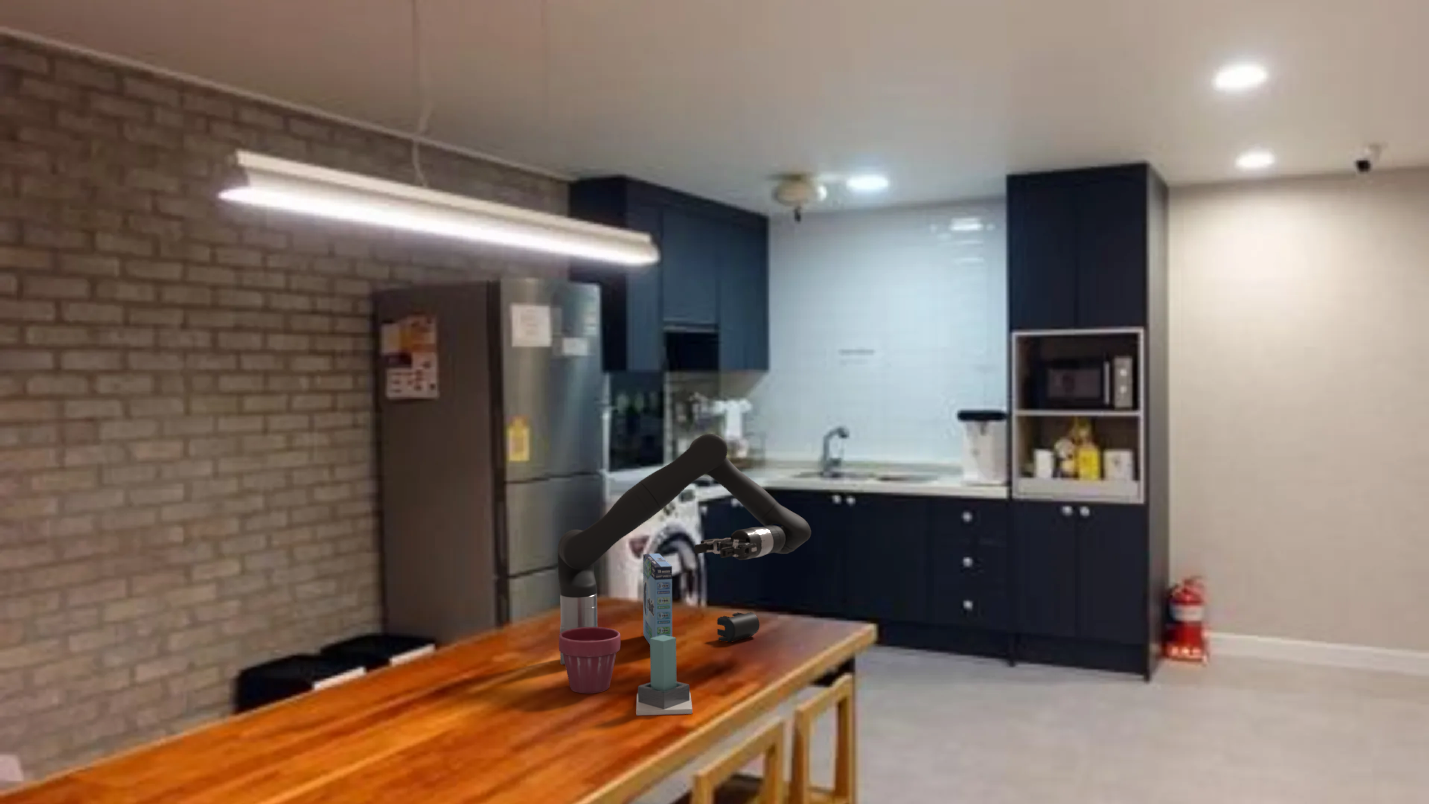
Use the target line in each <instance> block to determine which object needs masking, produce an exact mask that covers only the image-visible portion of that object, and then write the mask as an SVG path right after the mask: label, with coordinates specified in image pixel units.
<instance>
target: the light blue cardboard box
mask: <svg viewBox="0 0 1429 804" xmlns="http://www.w3.org/2000/svg"><path fill="white" fill-rule="evenodd" d="M642 557H643V559H642V560H643V561H642V564H643V565H642V566H643V567H642V568H643V569H642V577H643V578H642V581H643V582H642V588H643V589H642V590H643V591H642V592H643V595H642V596H643V597H642V600H643V601H642V602H643V606H642V607H643V611H642V612H643V613H642V614H643V615H642V616H643V618H642V620H643V623H642V625H643V627H642V628H643V629H642V631H643V636H644V638H645V639H646V641H647V643H648V644H649V645H650V638H654V637H657V636H661V635H666V636H670V637H673V566H672V564H670V563H669V562H668V561H667V560H666V558H664V557H663V556H662V555H661V553H644V554H642Z"/></svg>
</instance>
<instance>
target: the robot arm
mask: <svg viewBox="0 0 1429 804" xmlns="http://www.w3.org/2000/svg"><path fill="white" fill-rule="evenodd" d="M728 449H729V448H728V445H727V442H726V440H725V439H724V438H723V437H722V436H721V435H719V434H715V433H705V434H703V435H700V436H698V437H696V438H695V439H693V441H692V442H691V444H690V446H689V447H688V448H687V449H686V450H685V451H684V452H683V453H681V455H680V456H678V457H676V459H674V460H673V461H671V462H670V463H669V464H666V465H664V466H663V467H660V468H659V469H657V470H655V471H654V472H651V474H649V475H647V476H645V477H644V478H643V479H641V480H640V481H638V482H637V483H635V485H633V486H632V487H630V488H629V489H628V490H626V491H625V492H624V493H623V494H622V495H621V496H620V497H619V498H618V499H617V500H616V502H615V503H614V504H613V505H612V506H611V508H610V509H609V510H608V511H607V512H606V513H605V514H604V515H603V516H602V517H601V518H600V519H599V520H597V521H596V522H594V523H593V524H591V525H590V526H589V527H586V528H585V529H583V530H581V529H570V530H569V531H567V532H565V533H563V535H562V536H561V537H560V538H559V541H558V544H557V571H558V572H557V576H558V579H557V580H558V584H559V593H560V598H559V601H560V627H559V634H560V633H561V632H563V631H566V630H569V629H574V628H581V627H598V596H597V595H598V589H597V588H598V586H597V580H596V576H595V572H594V571H595V569H594V568H595V567H594V565H595V563H596V562H598V560H599V559H600V558H602V556H604V554H606V553H607V552H608V551H609V550H610V549H611V548H612V547H613V546H614V545H615V544H616V543H617V542H619V541H620V540H621V539H623V538H624V537H626V536H627V535H629V534H630V533H632V532H633V531H635V530H636V529H637V528H638V527H640V526H642V524H644V523H645V522H647V521H649V520H650V519H651V518H652V517H654V516H655V515H656V514H658V513H659V512H660V511H662V510H663V509H664V508H665V507H667V505H669V504H671V502H672V501H673V500H675V498H677V497H678V496H679V495H680V494H681V493H682V492H683V491H684V490H685V489H686V488H687V487H689V485H691V484H692V483H694V482H695V481H696V480H697V479H699V478H701V477H702V476H705V475H707V476H709V477H710V478H711V479H713V480H714V481H716V482H717V483H718V484H719V485H720V486H722V487H723V488H724V489H726V491H728V492H729V493H730V494H731V495H732V496H733V497H734V498H735V499H736V500H737V501H738V502H739V503H740V504H741V505H742V506H743V507H744V508H745V510H747V511H748V513H750V514H751V515H752V516H753V517H754V518H755V519H756V520H757V521H758V522H759V523H760V524H761V525H763V526H755V527H749V528H744V529H737V530H735V531H734V532H733V533H731V536H730V537H725V538H718V537H715V538H710V539H703V540H700V543H697V544H695V545H694V554H698V555H700V554H704V553H714V554H715V555H716V554H717V555H718V554H719V555H720V558H723V559H724V558H728V557H734V558H735V559H737V560H739V561H744V560H745V561H746V560H749V559H750V560H751V559H754V558H760V557H763V556H765V555H769V554H773V553H775V554H781V555H782V554H783V555H784V554H790V553H792V552H794V551H795V550H797V549H798V548H799V547H800V546H801V545H803V544H804V543H806V542H807V541H808V540H809V539H810V537H811V535H812V530H811V527H810V525H809V523H808V521H806V519H805V518H803V517H801V516H800V515H799V514H797V513H795V512H793V511H791V510H790V509H788V508H787V507H785V506H783V505H781V504H780V503H779V502H778V500H776V499H775V498H774V497H773V496H772V495H771V494H770V493H768V491H766V490H765V489H764V488H763V487H762V486H761V485H760V484H758V483H757V482H756V481H754V480H752V479H751V478H749V476H747V475H746V474H744V473H743V472H742V471H741V470H739V469H738V468H737V467H736V466H735V465H734V464H733V462H731V461H730V459H729V458H728ZM774 524H775V525H774ZM776 524H777V525H780V526H777V525H776ZM718 549H719V550H718ZM559 653H560V660H559V661H560V665H565V661H564V657H563V653H561V652H560V651H559Z"/></svg>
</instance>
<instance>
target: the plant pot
mask: <svg viewBox="0 0 1429 804" xmlns="http://www.w3.org/2000/svg"><path fill="white" fill-rule="evenodd" d="M558 650H559V653H560V652H561V653H563V657H564V661H565V664H564V665H565V671H566V675H567V678H568V683H569V688H570V690H571V691H573V692H575V693H579V694H596V693H597V694H598V693H602V692H604V691H607V690H608V689H610V685H611V681H612V676H613V673H614V672H613V671H614V666H615V661H616V657H617V656H616V655H617V652H619V651H620V650H621V633H620V632H619V631H618V630H617V629H614V628H608V627H603V626H597V627H581V628H574V629H569V630H566V631H563V632H561V633H560V632H559V636H558Z"/></svg>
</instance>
